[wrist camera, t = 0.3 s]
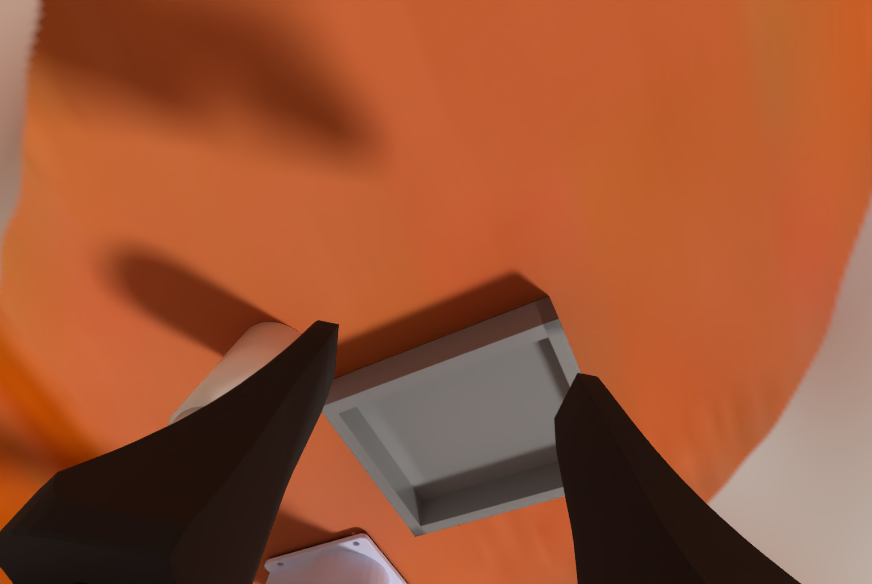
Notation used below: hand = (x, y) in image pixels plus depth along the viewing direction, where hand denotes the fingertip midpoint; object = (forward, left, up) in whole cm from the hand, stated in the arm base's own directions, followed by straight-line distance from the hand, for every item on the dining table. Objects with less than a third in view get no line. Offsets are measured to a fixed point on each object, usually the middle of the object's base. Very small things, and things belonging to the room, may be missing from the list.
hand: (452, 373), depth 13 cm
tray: (-3, -10, -10) cm, 15 cm away
